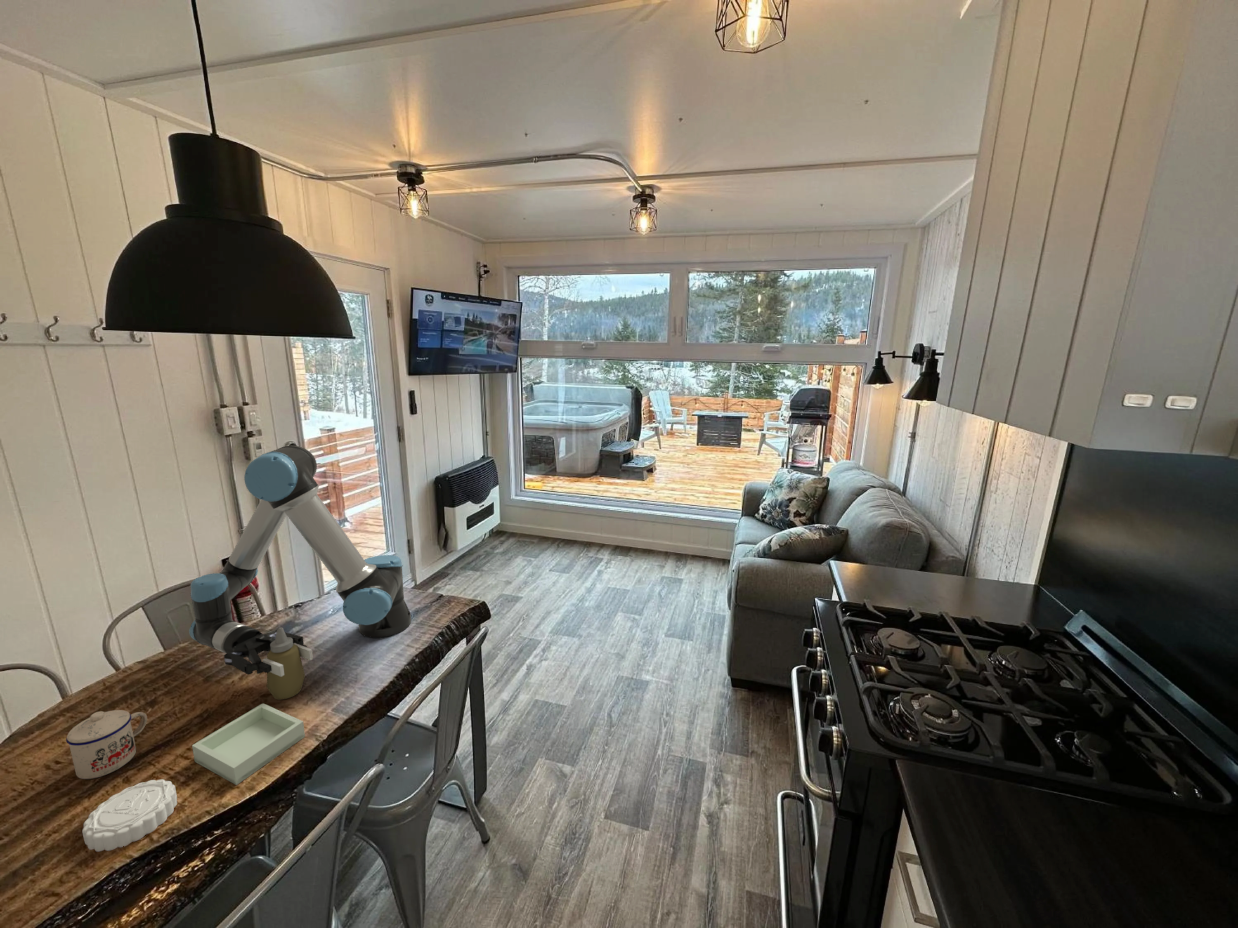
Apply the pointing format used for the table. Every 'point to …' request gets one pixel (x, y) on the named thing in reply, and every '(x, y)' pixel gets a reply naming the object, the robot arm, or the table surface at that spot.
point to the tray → (248, 743)
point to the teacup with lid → (103, 742)
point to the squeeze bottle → (285, 667)
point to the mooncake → (129, 815)
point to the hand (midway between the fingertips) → (296, 662)
